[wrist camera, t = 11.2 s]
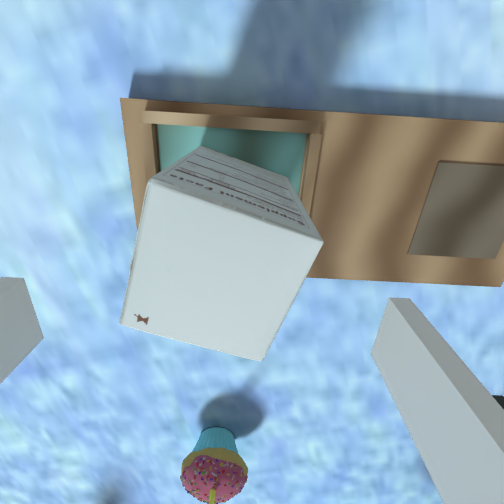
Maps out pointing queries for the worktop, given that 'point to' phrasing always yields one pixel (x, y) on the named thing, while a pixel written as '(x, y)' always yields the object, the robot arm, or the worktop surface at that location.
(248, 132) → the board
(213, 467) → the cupcake
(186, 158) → the supplement box
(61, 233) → the worktop surface
